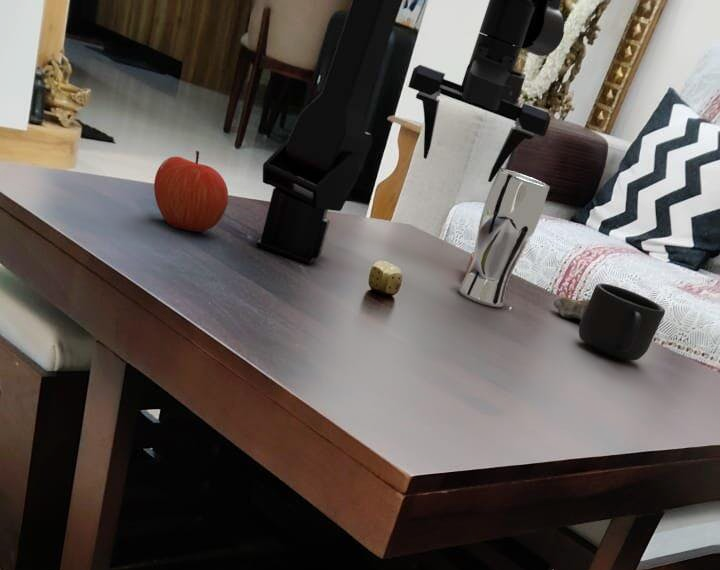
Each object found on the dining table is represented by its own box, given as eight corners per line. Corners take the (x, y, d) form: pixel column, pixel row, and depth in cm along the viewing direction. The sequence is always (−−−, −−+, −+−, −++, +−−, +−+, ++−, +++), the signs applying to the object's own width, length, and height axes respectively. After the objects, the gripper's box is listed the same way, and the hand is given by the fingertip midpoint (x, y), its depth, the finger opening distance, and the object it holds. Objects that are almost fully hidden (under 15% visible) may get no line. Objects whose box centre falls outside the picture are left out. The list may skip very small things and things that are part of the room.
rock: (631, 337, 138) (577, 296, 141) (652, 301, 134) (596, 260, 136) (598, 354, 133) (543, 311, 136) (619, 317, 128) (562, 273, 131)
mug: (567, 331, 128) (591, 277, 124) (632, 353, 129) (656, 299, 125) (582, 358, 117) (608, 299, 114) (652, 381, 119) (679, 324, 115)
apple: (150, 227, 106) (165, 147, 102) (146, 209, 112) (159, 133, 108) (223, 246, 109) (240, 170, 105) (215, 227, 115) (231, 154, 111)
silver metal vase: (503, 313, 125) (551, 189, 117) (452, 293, 125) (496, 169, 117) (507, 303, 131) (552, 185, 123) (457, 284, 131) (499, 165, 123)
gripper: (427, 12, 118) (386, 151, 126) (573, 66, 119) (524, 200, 127) (431, 15, 127) (393, 144, 135) (567, 66, 129) (521, 190, 137)
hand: (457, 169), depth 133 cm, fingers open, 9 cm apart
